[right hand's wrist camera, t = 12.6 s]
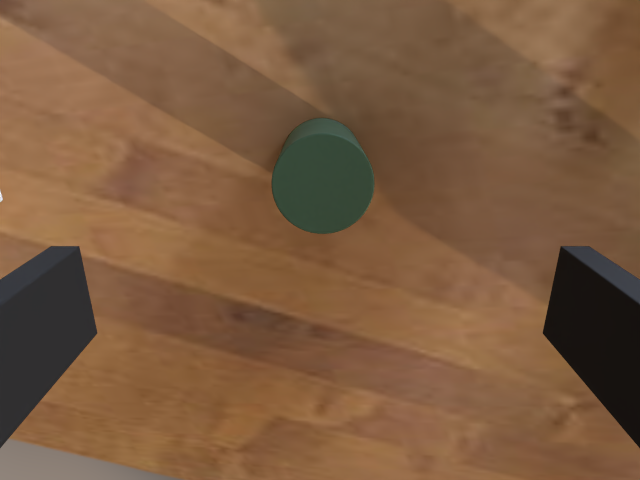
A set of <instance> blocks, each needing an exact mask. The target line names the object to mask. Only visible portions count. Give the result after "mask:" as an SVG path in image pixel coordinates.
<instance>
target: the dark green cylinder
mask: <svg viewBox="0 0 640 480" xmlns="http://www.w3.org/2000/svg"><path fill="white" fill-rule="evenodd" d="M373 192H374V174H373V170H372V167H371V164H370V162H369V160H368V158H367V156H366V155H365V153H364V151H363V149H362V148H361V146H360V144H359V143H358V141H357V139H356V137H355V136H354V134H353V133H352V132H351V131H350V130H349V129H348V128H347V127H346V126H345V125H343V124H341V123H340V122H337V121H335V120H332V119H327V118H317V119H312V120H308V121H306V122H304V123H302V124H300V125H299V126H297V127H296V128H295V129H294V130H293V131H292V132H291V133H290V135H289V136H288V138H287V140H286V142H285V144H284V146H283V149H282V151H281V153H280V155H279V158H278V160H277V162H276V165H275V167H274V171H273V174H272V193H273V197H274V200H275V203H276V205H277V207H278V209H279V210H280V212H281V213H282V214H283V216H284V217H285V218H286V219H287V220H288V221H289V222H291V223H292V224H293V225H295V226H296V227H298V228H300V229H302V230H305V231H308V232H311V233H318V234H327V233H334V232H338V231H341V230H343V229H345V228H347V227H349V226H351V225H352V224H354V223H355V222H356V221H357V220H359V219H360V218H361V216H362V215H363V214H364V213H365V211H366V210H367V208H368V207H369V205H370V202H371V200H372V197H373Z"/></svg>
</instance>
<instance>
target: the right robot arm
mask: <svg viewBox="0 0 640 480" xmlns="http://www.w3.org/2000/svg"><path fill="white" fill-rule="evenodd" d="M96 334H97V329H96V325H95V320H94V315H93V310H92V305H91V301H90V296H89V291H88V286H87V281H86V277H85V272H84V267H83V262H82V258H81V253H80V248H79V246H51V247H49V248H48V249H46V250H45V251H43V252H42V253H40V254H39V255H37V256H36V257H34V258H33V259H31V260H29V261H28V262H26V263H25V264H23V265H22V266H20V267H19V268H17V269H16V270H14V271H13V272H11V273H10V274H8V275H7V276H5V277H4V278H2V279H1V280H0V448H1V447H2V445H3V444H4V443H5V442H6V441H7V439H8V438H9V437H10V436H11V435H12V434H13V432H14V431H15V430H16V429H17V428H18V426H19V425H20V424H21V423H22V422H23V421H24V419H25V418H26V417H27V416H28V415H29V413H30V412H31V411H32V410H33V409H34V408H35V406H36V405H37V404H38V403H39V402H40V400H41V399H42V398H43V397H44V396H45V395H46V393H47V392H48V391H49V390H50V389H51V387H52V386H53V385H54V384H55V383H56V382H57V380H58V379H59V378H60V377H61V376H62V374H63V373H64V372H65V371H66V370H67V368H68V367H69V366H70V365H71V364H72V363H73V361H74V360H75V359H76V358H77V357H78V355H79V354H80V353H81V352H82V351H83V350H84V348H85V347H86V346H87V345H88V344H89V342H90V341H91V340H92V339H93V338H94V337H95V335H96ZM543 334H544V335H545V337H546V338H547V339H548V340H549V341H550V342H551V344H552V345H553V346H554V347H555V348H556V350H557V351H558V352H559V353H560V354H561V355H562V357H563V358H564V359H565V360H566V361H567V363H568V364H569V365H570V366H571V367H572V368H573V370H574V371H575V372H576V373H577V374H578V376H579V377H580V378H581V379H582V380H583V382H584V383H585V384H586V385H587V386H588V387H589V389H590V390H591V391H592V392H593V393H594V395H595V396H596V397H597V398H598V399H599V400H600V402H601V403H602V404H603V405H604V406H605V408H606V409H607V410H608V411H609V412H610V413H611V415H612V416H613V417H614V418H615V419H616V421H617V422H618V423H619V424H620V425H621V426H622V428H623V429H624V430H625V431H626V432H627V434H628V435H629V436H630V437H631V438H632V439H633V441H634V442H635V443H636V444H637V445H638V447H639V448H640V280H639V279H638V278H636V277H635V276H633V275H632V274H630V273H629V272H627V271H626V270H624V269H623V268H621V267H620V266H618V265H617V264H615V263H614V262H612V261H611V260H609V259H607V258H606V257H604V256H603V255H601V254H600V253H598V252H597V251H595V250H594V249H592V248H591V247H589V246H561V248H560V253H559V258H558V262H557V267H556V272H555V277H554V281H553V286H552V291H551V296H550V301H549V305H548V310H547V315H546V320H545V325H544V329H543Z"/></svg>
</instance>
